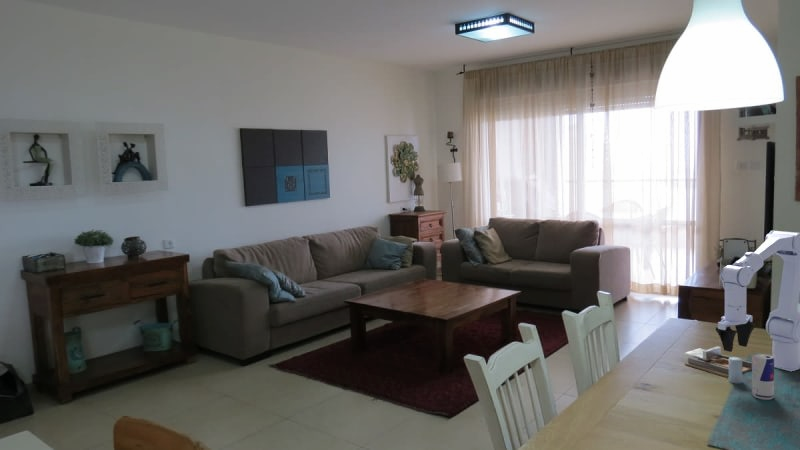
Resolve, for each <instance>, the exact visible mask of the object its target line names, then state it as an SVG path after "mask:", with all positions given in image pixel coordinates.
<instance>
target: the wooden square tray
mask: <svg viewBox="0 0 800 450" xmlns="http://www.w3.org/2000/svg"><path fill="white" fill-rule="evenodd" d="M730 357H731V356H728V355H724V354H722V353H721V356H719V357H716V358H713V359H710V360H707V361H705V360H702V359H698V358H695V357H691V356H688V358H687V362H686V363H684V364H685V366H687V367H690V368H694V369H696V370H697V369H698V370H701V371H704V372H708V373H711V374H714V375H716V376H717V375H718V376H721V377H724V378H728V379H729V358H730ZM749 371H752V361H747V360H744V359H742V374H745V373H746V372H749Z"/></svg>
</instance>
